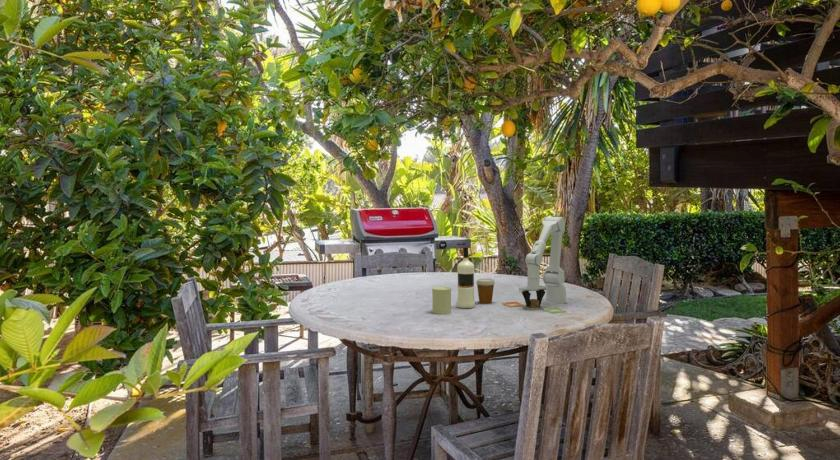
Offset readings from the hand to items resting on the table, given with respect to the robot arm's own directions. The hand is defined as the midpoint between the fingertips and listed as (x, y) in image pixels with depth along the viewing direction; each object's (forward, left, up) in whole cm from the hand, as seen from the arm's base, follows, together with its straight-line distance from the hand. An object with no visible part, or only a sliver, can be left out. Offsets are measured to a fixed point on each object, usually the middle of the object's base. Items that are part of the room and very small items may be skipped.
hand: (533, 305), depth 284 cm
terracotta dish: (+6, -10, -2) cm, 11 cm away
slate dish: (0, 0, -2) cm, 2 cm away
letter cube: (0, 0, -1) cm, 1 cm away
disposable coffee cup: (+16, -20, -2) cm, 26 cm away
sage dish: (-6, +10, -2) cm, 11 cm away
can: (+44, -10, -2) cm, 45 cm away
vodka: (+29, -16, -2) cm, 33 cm away
